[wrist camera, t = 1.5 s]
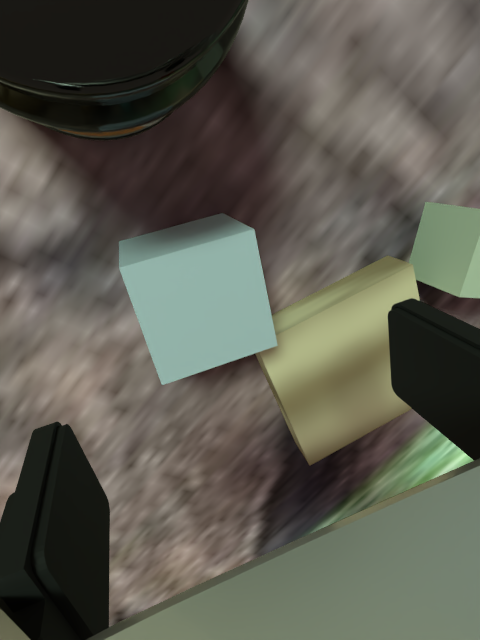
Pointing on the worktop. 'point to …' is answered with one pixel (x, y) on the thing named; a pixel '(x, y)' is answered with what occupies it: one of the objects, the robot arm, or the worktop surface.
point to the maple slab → (338, 358)
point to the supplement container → (110, 60)
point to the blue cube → (198, 294)
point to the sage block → (448, 249)
